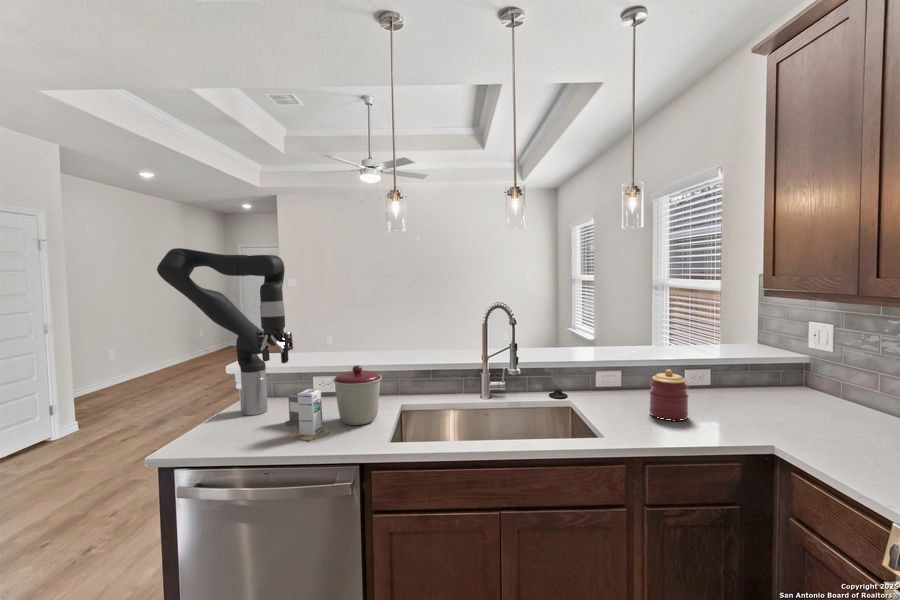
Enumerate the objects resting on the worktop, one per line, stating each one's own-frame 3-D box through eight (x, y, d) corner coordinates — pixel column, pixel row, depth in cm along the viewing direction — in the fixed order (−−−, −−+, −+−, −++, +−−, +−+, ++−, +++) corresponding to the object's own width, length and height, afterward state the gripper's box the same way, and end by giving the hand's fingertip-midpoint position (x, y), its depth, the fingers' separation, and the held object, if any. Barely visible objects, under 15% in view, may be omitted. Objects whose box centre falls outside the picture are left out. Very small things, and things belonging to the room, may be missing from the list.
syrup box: (314, 436, 147) (312, 393, 146) (298, 434, 148) (297, 393, 147) (323, 430, 152) (321, 389, 151) (307, 429, 154) (306, 388, 153)
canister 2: (665, 408, 170) (665, 364, 169) (696, 418, 159) (696, 370, 158) (641, 413, 165) (641, 368, 164) (672, 424, 153) (672, 375, 152)
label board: (285, 424, 161) (284, 397, 160) (291, 421, 164) (290, 395, 163) (311, 428, 155) (310, 401, 155) (318, 425, 158) (317, 398, 158)
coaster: (290, 437, 147) (290, 435, 147) (309, 428, 155) (309, 427, 155) (310, 441, 143) (310, 439, 143) (328, 432, 152) (328, 430, 152)
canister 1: (327, 429, 154) (325, 371, 153) (341, 413, 172) (340, 361, 171) (378, 429, 153) (376, 370, 152) (387, 413, 171) (385, 360, 170)
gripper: (248, 315, 145) (251, 362, 147) (279, 316, 139) (282, 365, 141) (266, 312, 152) (269, 358, 153) (296, 313, 146) (299, 361, 147)
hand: (275, 361), depth 147 cm, fingers open, 8 cm apart
